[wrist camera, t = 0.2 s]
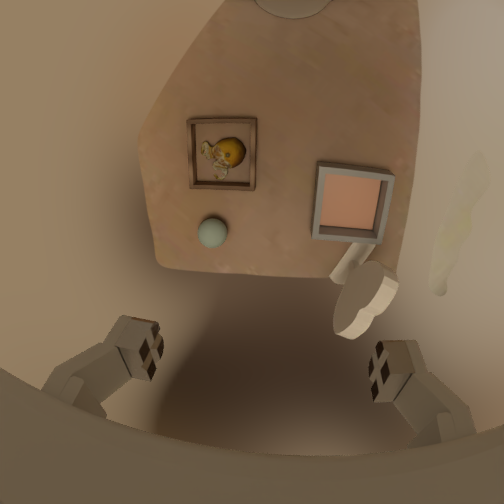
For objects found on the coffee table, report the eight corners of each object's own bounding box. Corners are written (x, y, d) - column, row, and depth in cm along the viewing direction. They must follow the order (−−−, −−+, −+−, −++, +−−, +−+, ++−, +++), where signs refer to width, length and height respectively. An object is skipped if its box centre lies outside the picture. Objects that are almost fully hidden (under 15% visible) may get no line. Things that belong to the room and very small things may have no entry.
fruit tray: (190, 118, 51) (186, 119, 48) (257, 118, 49) (255, 119, 47) (193, 184, 57) (189, 188, 55) (255, 187, 56) (254, 191, 54)
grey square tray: (317, 161, 52) (319, 166, 49) (388, 170, 51) (395, 175, 47) (310, 229, 59) (311, 238, 56) (376, 235, 58) (381, 244, 55)
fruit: (197, 146, 54) (191, 150, 51) (233, 125, 51) (229, 127, 48) (218, 181, 57) (214, 187, 54) (254, 162, 54) (252, 167, 51)
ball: (201, 213, 61) (192, 225, 55) (229, 214, 60) (223, 227, 55) (203, 238, 64) (195, 252, 58) (229, 240, 63) (224, 254, 58)
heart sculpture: (342, 290, 66) (352, 348, 51) (324, 282, 66) (331, 340, 50) (380, 238, 58) (406, 290, 43) (362, 228, 58) (384, 278, 42)
